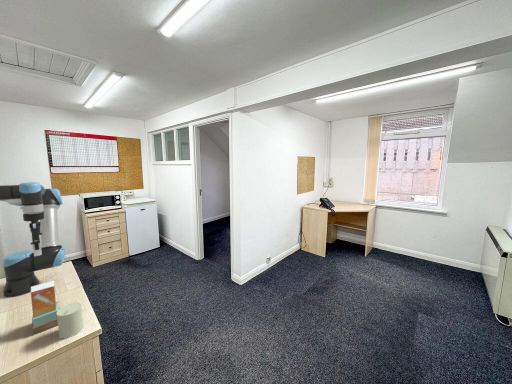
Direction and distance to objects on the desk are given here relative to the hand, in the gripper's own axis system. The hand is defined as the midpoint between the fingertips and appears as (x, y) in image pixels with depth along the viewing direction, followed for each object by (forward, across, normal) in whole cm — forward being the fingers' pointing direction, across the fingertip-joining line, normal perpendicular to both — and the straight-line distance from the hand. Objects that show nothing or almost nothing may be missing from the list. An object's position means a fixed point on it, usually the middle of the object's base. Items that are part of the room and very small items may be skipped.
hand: (38, 251), depth 112 cm
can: (+33, +31, +9) cm, 46 cm away
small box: (+25, +18, 0) cm, 31 cm away
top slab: (+29, +18, +1) cm, 34 cm away
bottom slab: (+33, +18, +1) cm, 38 cm away
